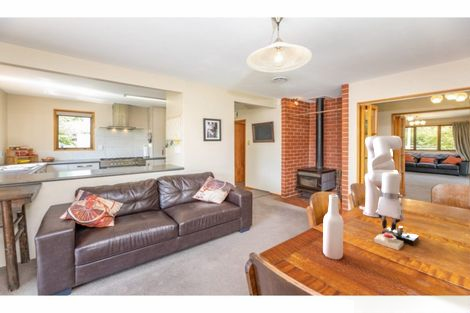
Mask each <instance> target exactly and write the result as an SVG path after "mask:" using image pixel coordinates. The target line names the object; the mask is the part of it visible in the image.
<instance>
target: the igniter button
mask: <svg viewBox="0 0 470 313" xmlns="http://www.w3.org/2000/svg"><path fill="white" fill-rule="evenodd" d="M384 236H385V237H387V238H393V234H391V233H385V234H384Z"/></svg>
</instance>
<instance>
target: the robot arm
mask: <svg viewBox="0 0 470 313" xmlns="http://www.w3.org/2000/svg"><path fill="white" fill-rule="evenodd" d="M364 140H365V142H364V144H365V147H366V150H367V173H365V174H364V185H365V196H364V197H365V200H364V202H365V203H364V206H362V205H359V206H358V208H359V210H362V214H363V215H364V216H367V217H371V218H379V219H380V220H381V227H382V229H383V230H385V229H386V228H388V225H387V224H388V221H387V218H391V219H392V223H390V224H391V225H390V228H391V230H392V231H394V230H395V229H397V224H398V223H400V222H405V221H406V218H405V216H404V214H403V202H402V201H403V200H402V199H403V197H404V195H402V194H400V189H401V188H400V185H401V174H400V173H399V171H398V170H396V163H395V161H394V159H393V151H399V150H401V149H402V146H403V140H402V138H401V137H400V136H398V135H372V136H371V135H370V136H367V137H366V138H365V139H364ZM378 187H381V190H380V188H378Z"/></svg>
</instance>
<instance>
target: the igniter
mask: <svg viewBox="0 0 470 313" xmlns="http://www.w3.org/2000/svg"><path fill="white" fill-rule="evenodd" d="M373 242H374V243H375V244H379V245H382V246H384V247H388V248H391V249H394V250H397V251H400V250H401V249H402V247H403V246H404V243H403V241H401V240H397V239H396V237H395V236H393V238H387V237H385V236H384V234H382V233H378V234H377V235H376V236H375V237H374V238H373Z"/></svg>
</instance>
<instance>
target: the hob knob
mask: <svg viewBox="0 0 470 313" xmlns="http://www.w3.org/2000/svg"><path fill="white" fill-rule="evenodd" d="M396 229H397V234H399V235H401V234H402V233H403V231H404V226H402V225H399V226H397V227H396Z"/></svg>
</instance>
